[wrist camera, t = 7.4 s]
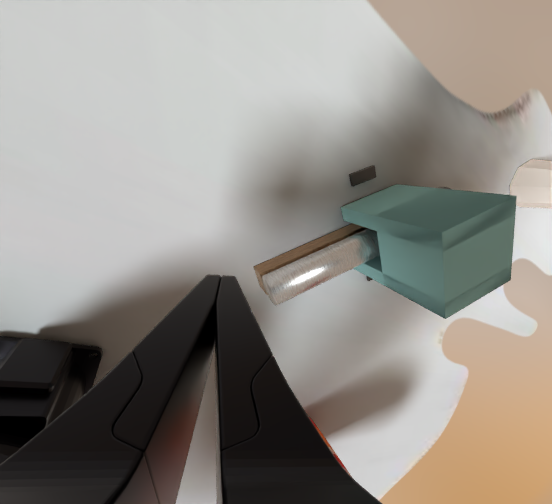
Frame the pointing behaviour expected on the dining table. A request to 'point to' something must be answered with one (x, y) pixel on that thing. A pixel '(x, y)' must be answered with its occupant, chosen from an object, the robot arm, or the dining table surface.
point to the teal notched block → (438, 243)
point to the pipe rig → (320, 257)
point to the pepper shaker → (533, 184)
